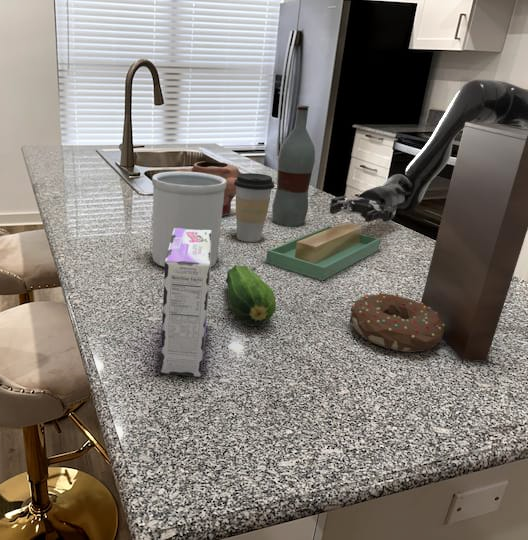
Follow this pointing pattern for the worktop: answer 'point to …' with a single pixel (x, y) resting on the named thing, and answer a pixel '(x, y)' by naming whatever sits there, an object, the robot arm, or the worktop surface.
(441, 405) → the worktop surface
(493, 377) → the worktop surface
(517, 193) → the walnut stand
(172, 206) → the utensil holder
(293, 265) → the tray
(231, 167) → the decorative planter
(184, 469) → the worktop surface
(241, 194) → the coffee cup
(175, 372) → the candy box
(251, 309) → the vegetable
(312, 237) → the beech stick
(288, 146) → the vodka
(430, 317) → the donut
